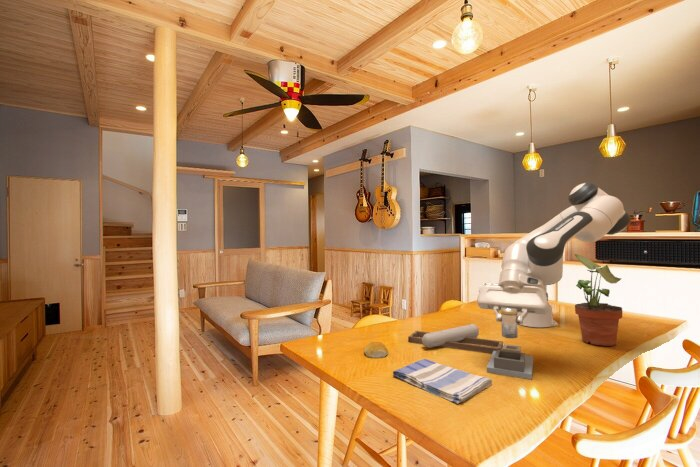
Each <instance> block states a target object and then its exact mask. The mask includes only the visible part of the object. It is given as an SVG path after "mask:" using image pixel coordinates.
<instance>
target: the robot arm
mask: <svg viewBox="0 0 700 467" xmlns="http://www.w3.org/2000/svg"><path fill="white" fill-rule="evenodd" d="M567 199H568V202H569V204H570V205H571V206H569V207H567V208H566V209H564V210H562V211H561V212H559V213H558V214H557V215H556V216H554V217H552V219H550V220H548V221H547V222H546V223H544V224H542V225H541V226H539V227H537V228H536V229H534V230H532V231H530V232H528V233H527V234H525V235H524V236H522V237H521V238H519V239H517V240H515V241H514V242H513V243H512V244H510V245H509V246H508V247H507V248H505V250H504V252H503V256H502V261H501V272H500V274H499V280H498V283H489V282H486V283H483V284H481V285H479V287H478V288H479V289H478V294H477V298H476V302H477V306H478V307H479V308H480V309H482V310H483V309H484V310H492V311H493V312H494V314H495V320H496V322H500V323H501V313H500V309H501V307H514V308H517V310H518V314H517V325H520V326H525V327H529V328H550V327H558V326H559V324H558V322H557V321H556V319H554V318H553V317H554V314H553V306H552V305H551V304H549V294H548V291H547V289H548V286H551V285H554V284H557V283H559V282H560V281H561V279H562V278H563V272H564V271H563V269H564V266H563V265H564V261H563V260H564V252H565V247H566V245H567V243H569V241H571V240H573V239H574V238H576V239H577V240H579V241H581V242H585V243H595V242H597V241H599V240H601V239H602V238H603V237H604V236H606V235H607V236H608V235H609V236H610V235H611V236H612V235H615V234H618V233H621V232H622V231H624V230H625V229H626V228H627V227H628V226H629V225H630V224H631V220H632V217H631V215H630V214H629V212H628V211H627V210H625V209H624V204H623V202H622V201H621V200H620V199H619V198H618V197H617V196H613V195H609V194H608V193H606V192H605V191H604V190H602V189H601V188H600V187H599V186H598V185H597V184H596V183H593V182H592V181H585V182H584V183H580V184H577V185H576V186H575V187H574V188H573V189H571V191H570V193H569V194H568V196H567Z"/></svg>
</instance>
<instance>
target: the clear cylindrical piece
mask: <svg viewBox="0 0 700 467" xmlns="http://www.w3.org/2000/svg"><path fill="white" fill-rule="evenodd" d="M499 314H501V322H500V323H501V337H503V338H506V339H518V337H519V336H518V333H519V332H518V331H519V330H518V329H519V328H518V324H517V314H518V310H517V308H514V307H501V309H500V310H499Z"/></svg>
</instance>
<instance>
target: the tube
mask: <svg viewBox="0 0 700 467" xmlns="http://www.w3.org/2000/svg"><path fill="white" fill-rule="evenodd" d="M479 330H480V329H479V328H478V326H477V325H476V324H475V323H470V324H466V325H465V324H464V325H461V326H456V327H451V328H446V329H443V330H437V331H433V332H430V333H427V334H425V335H424V336H423V337H421V338H422V343H423V344H422V345H423V347H427V348H428V349H432V348H435V347H441V345H443V344H444V343H445V342H447V341H450V342H457V343H459V342H458V341H462V340H463V339H464V338H466V337H471V338H478V336H479V335H480V331H479Z"/></svg>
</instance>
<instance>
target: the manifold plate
mask: <svg viewBox="0 0 700 467" xmlns="http://www.w3.org/2000/svg"><path fill="white" fill-rule="evenodd" d="M521 348H522V346H520V345H514V344H507V343H506V344H505V343H503V348H502V350H497V351H493V353H492V354H491V356H490V359H489V360H488V363H487V365H486V373H489V374H494V375H495V374H496V375H501V376H506V377H507V376H508V377H512V378H513V377H514V378H519V379H520V378H521V379H525V380H531V381H532V379H533V367H534V355H528V354H526V353H525V352H522V349H521Z"/></svg>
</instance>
